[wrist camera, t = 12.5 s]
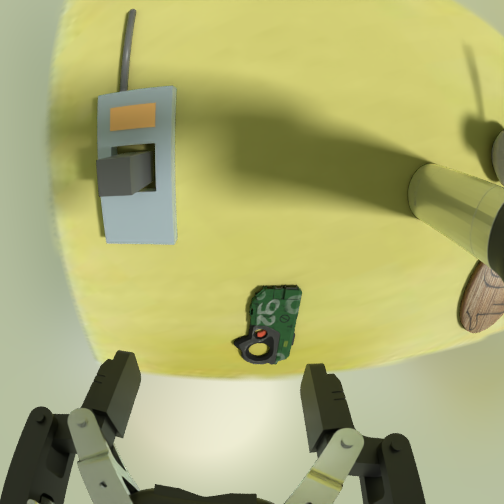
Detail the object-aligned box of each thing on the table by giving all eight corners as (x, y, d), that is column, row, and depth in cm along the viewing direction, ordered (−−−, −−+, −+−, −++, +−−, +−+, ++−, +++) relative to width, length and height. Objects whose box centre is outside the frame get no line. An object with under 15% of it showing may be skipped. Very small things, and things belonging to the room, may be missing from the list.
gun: (236, 286, 39) (305, 288, 40) (236, 281, 41) (303, 283, 41) (233, 363, 46) (289, 364, 47) (233, 358, 47) (288, 358, 48)
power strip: (184, 2, 23) (181, -4, 21) (177, 238, 37) (174, 245, 35) (114, 14, 23) (108, 10, 21) (112, 237, 36) (106, 243, 34)
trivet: (499, 320, 51) (502, 324, 49) (443, 335, 49) (447, 340, 48) (530, 237, 40) (535, 240, 38) (481, 232, 39) (488, 236, 37)
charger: (152, 150, 32) (129, 156, 24) (153, 180, 33) (131, 195, 26) (124, 152, 31) (96, 160, 24) (126, 182, 33) (99, 196, 26)
